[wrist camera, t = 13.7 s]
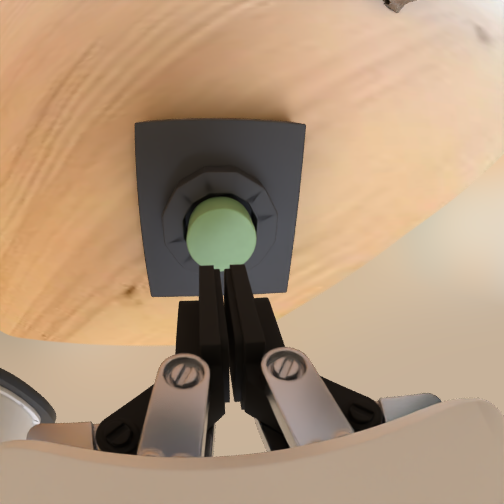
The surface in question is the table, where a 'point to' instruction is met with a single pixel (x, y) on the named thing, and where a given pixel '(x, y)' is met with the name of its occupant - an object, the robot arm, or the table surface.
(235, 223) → the green short cylinder
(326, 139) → the table surface
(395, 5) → the rhinoceros figurine
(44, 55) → the table surface
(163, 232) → the button base
